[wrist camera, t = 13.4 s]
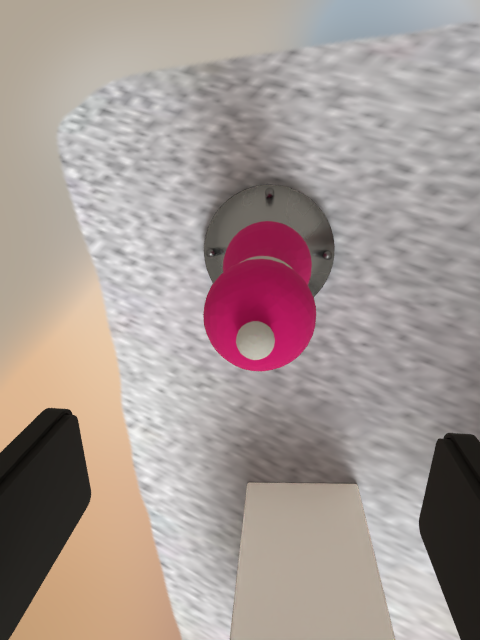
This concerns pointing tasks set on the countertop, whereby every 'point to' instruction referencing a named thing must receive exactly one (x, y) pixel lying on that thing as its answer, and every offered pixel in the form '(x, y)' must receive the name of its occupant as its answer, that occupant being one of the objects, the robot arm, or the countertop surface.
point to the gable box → (307, 566)
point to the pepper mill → (262, 298)
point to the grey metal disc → (277, 208)
